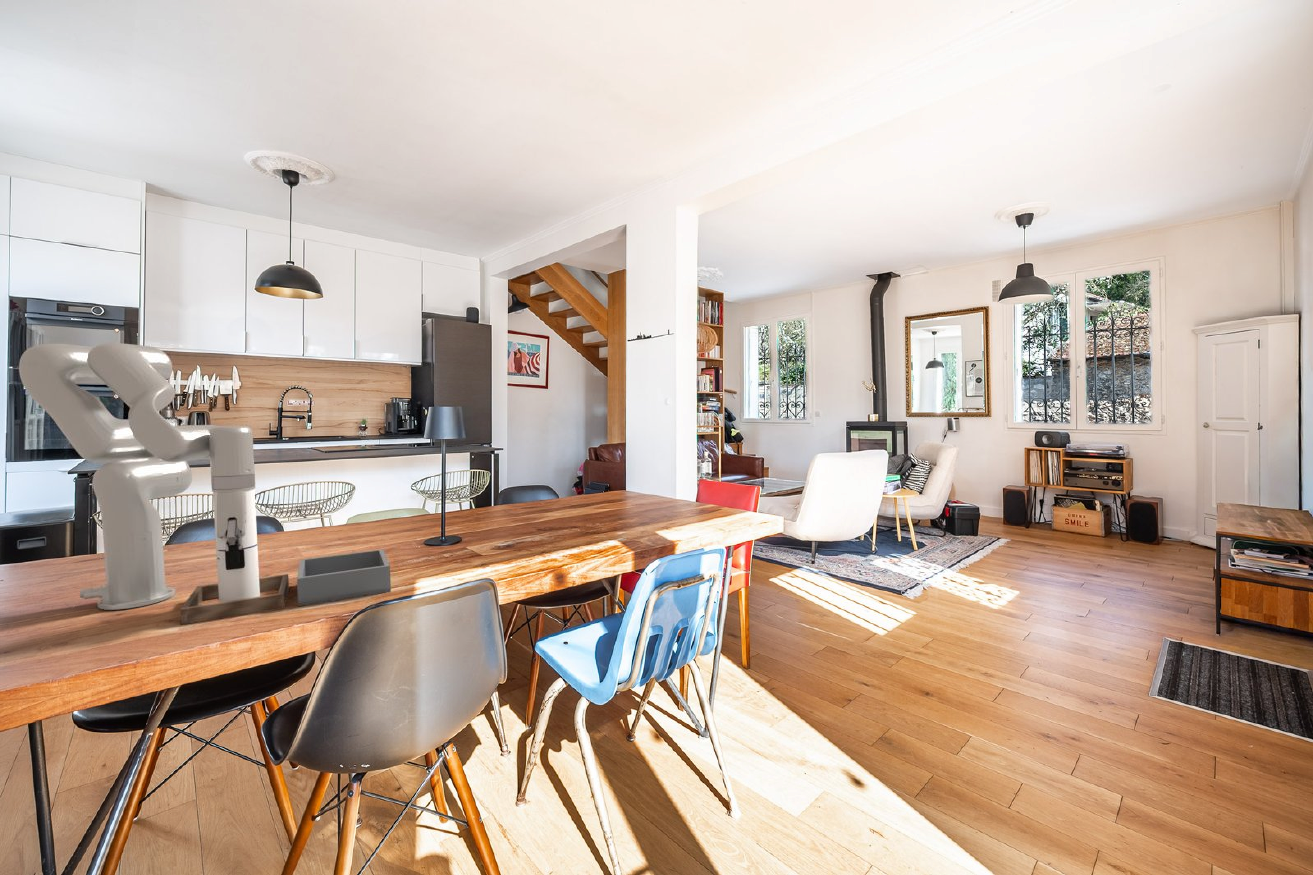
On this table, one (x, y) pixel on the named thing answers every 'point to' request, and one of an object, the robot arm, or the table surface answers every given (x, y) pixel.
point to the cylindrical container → (247, 578)
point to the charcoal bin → (342, 576)
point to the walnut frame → (234, 601)
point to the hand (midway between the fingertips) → (238, 563)
